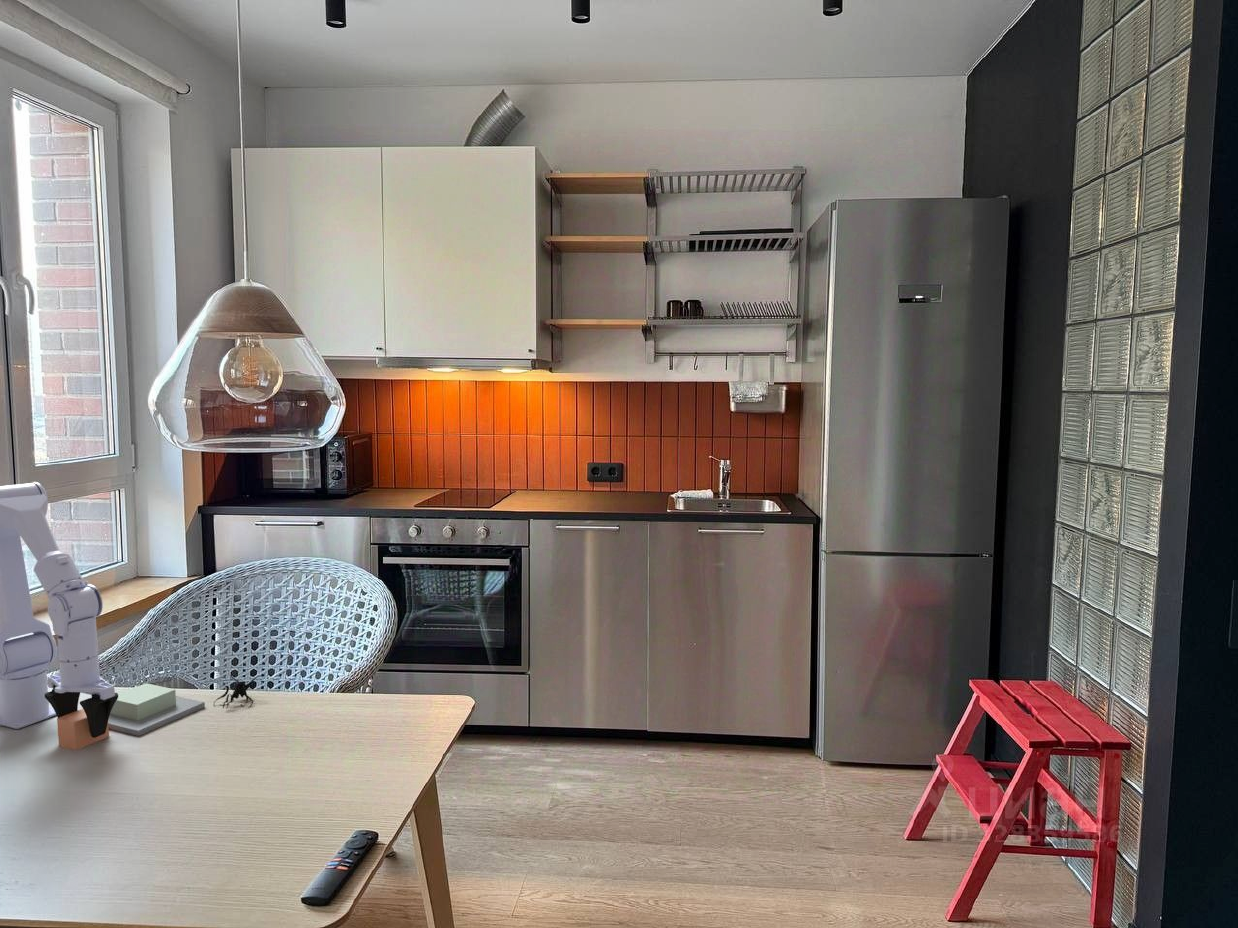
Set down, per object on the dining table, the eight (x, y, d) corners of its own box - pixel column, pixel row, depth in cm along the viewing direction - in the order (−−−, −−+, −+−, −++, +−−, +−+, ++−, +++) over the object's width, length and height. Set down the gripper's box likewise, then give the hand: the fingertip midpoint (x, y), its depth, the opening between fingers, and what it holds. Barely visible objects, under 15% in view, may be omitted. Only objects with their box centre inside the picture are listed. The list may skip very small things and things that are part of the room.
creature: (245, 717, 158) (266, 693, 165) (241, 693, 156) (262, 670, 163) (207, 715, 158) (229, 691, 166) (202, 691, 157) (224, 668, 164)
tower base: (78, 720, 153) (76, 700, 152) (146, 694, 166) (145, 675, 165) (138, 735, 147) (137, 714, 146) (204, 706, 159) (203, 687, 159)
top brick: (58, 745, 143) (56, 718, 142) (92, 732, 148) (90, 705, 148) (75, 750, 141) (74, 722, 141) (109, 736, 147) (107, 709, 146)
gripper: (27, 658, 142) (33, 733, 144) (84, 669, 137) (89, 748, 138) (68, 645, 149) (73, 718, 150) (124, 656, 143) (128, 731, 144)
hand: (83, 731), depth 144 cm, fingers open, 7 cm apart
